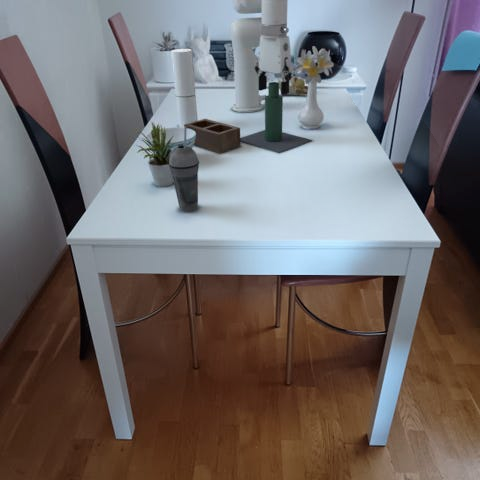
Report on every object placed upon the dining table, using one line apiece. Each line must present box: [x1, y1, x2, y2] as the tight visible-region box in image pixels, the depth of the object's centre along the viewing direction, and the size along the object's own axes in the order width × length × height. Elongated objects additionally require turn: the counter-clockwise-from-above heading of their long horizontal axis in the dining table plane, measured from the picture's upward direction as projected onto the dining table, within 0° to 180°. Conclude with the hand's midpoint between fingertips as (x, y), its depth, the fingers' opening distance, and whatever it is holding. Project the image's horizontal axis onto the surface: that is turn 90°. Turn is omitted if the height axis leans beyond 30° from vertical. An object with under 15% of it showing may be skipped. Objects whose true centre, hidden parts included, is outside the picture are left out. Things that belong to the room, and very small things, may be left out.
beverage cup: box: [169, 126, 200, 213], centre depth 118 cm, size 7×7×20 cm
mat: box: [240, 129, 313, 154], centre depth 165 cm, size 16×20×1 cm
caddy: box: [184, 118, 242, 154], centre depth 163 cm, size 9×17×6 cm, turn 44°
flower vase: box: [294, 45, 335, 130], centre depth 169 cm, size 13×18×25 cm
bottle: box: [264, 81, 284, 142], centre depth 160 cm, size 6×6×18 cm
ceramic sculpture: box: [277, 73, 308, 96], centre depth 214 cm, size 11×9×15 cm
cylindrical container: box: [170, 48, 198, 128], centre depth 176 cm, size 7×7×25 cm
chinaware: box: [145, 127, 196, 156], centre depth 151 cm, size 15×15×8 cm
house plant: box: [130, 121, 180, 188], centre depth 134 cm, size 14×14×16 cm
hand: (273, 92), depth 157 cm, fingers open, 9 cm apart
